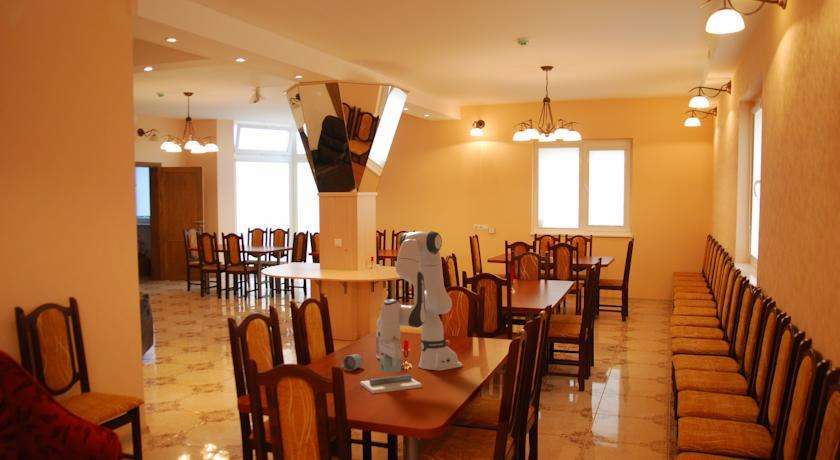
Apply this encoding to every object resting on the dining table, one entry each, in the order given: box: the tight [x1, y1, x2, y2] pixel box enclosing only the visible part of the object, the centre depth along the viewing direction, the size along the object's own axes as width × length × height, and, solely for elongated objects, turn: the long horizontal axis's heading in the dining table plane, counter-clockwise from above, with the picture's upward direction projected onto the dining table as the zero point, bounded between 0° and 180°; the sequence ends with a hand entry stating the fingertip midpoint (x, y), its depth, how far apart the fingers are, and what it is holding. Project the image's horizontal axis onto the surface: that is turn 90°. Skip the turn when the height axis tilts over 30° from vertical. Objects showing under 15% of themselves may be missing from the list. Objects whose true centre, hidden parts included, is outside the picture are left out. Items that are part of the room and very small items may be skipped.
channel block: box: [379, 356, 402, 374], centre depth 314 cm, size 8×6×6 cm
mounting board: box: [359, 378, 423, 394], centre depth 314 cm, size 24×16×2 cm, turn 115°
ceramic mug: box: [340, 353, 364, 372], centre depth 346 cm, size 11×8×8 cm
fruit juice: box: [375, 305, 384, 360], centre depth 368 cm, size 9×9×28 cm
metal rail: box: [369, 373, 413, 386], centre depth 314 cm, size 20×2×2 cm, turn 115°
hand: (390, 364), depth 314 cm, fingers closed on channel block, 6 cm apart
